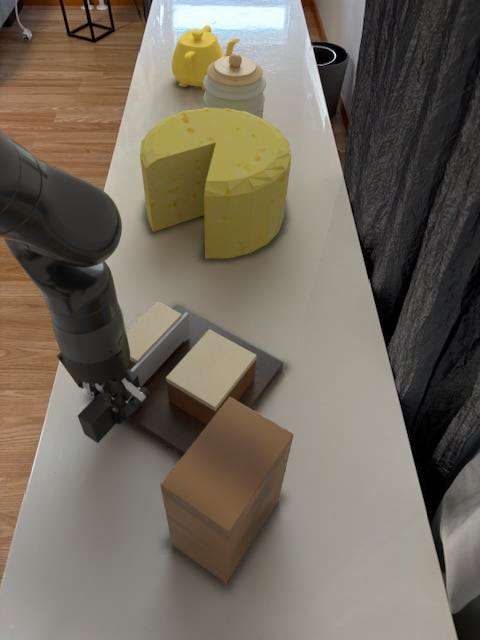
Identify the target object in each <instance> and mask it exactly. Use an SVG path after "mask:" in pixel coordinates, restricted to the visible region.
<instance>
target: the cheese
mask: <svg viewBox="0 0 480 640" xmlns="http://www.w3.org/2000/svg"><path fill="white" fill-rule="evenodd" d="M139 160H140V166H141V167H140V169H141V176H142V184H143V192H144V199H145V207H146V209H145V210H146V214H147V215H146V216H147V220H148V222H149V226H150V228H151V231H152V232H153V233H154V232H158V231H161V230H164V229H166V228H170V227H173V226H176V225H179V224H181V223H182V224H183V223H185V222H187V221H190V220H193V219H197V218H199V217H202V216H203V217H204V256H205V257H204V258H205V259H214V260H215V259H232V258H236V257H242V256H244V255H249V254H252V253H254V252H256V251H257V250H260V249H261V248H263V247H264V246H267V245H268V244H269V243H270V242H271V241H272V240H273V239H274V238H275V237H276V235H278V233H279V232H280V230H281V227H282V224H283V221H284V219H285V211H286V203H287V196H288V195H287V194H288V188H289V179H290V172H291V164H292V152H291V145H290V142H289V140H288V139H287V138H286V137H285V135H284V134H283V131H282V130H281V129H279V128H278V127H276V126H275V125H273V124H272V123H271V122H269V120H267V119H265V117H263V118H260V117H257V116H255V115H253V114H250V113H248V112H246V111H238V110H233V109H229V108H225V109H218V108H204V107H201V108H198V109H190V110H183V111H181V112H179V113H176V114H173V115H170V116H167V117H166V118H164V119H163V120H161V121H160V122H159V123H156V125H154V126H152V127H151V128H150V129H149V131H148V132H147V133H146V134H145V136H144V137H143V139H142V140H141V144H140V152H139Z"/></svg>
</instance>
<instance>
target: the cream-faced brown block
mask: <svg viewBox="0 0 480 640" xmlns="http://www.w3.org/2000/svg"><path fill="white" fill-rule="evenodd" d="M256 356H257V355H256V354H254V353H252V352H250V351H248V350H247V349H245V348H243V347H241V346H239V345H237V344H236V343H234V342H232V341H230V340H228V339H226V338H225V337H223V336H221V335H219V334H217V333H215V332H214V331H212V330H210V329H209V330H208V331H207V332H206V333H205V334H204V336H203V337H202V338H201V339H200V340H199V341H198V342H197V343H196V345H195V346H194V347H193V348H192V349H191V350H190V351H189V352H188V353H187V355H186V356H185V357H184V358H183V359H182V360H181V361H180V362H179V364H178V365H177V366H176V367H175V368H174V369H173V370H172V371H171V372H170V374H169V375H168V376H167V377H166V383H167V391H168V399H169V402H171V403H173V404H174V405H176V406H178V407H179V408H181V409H182V410H184V411H186V412H187V413H189V414H191V415H192V416H194V417H195V418H197V419H199V420H200V421H202V422H204V423H205V424H207V425H208V423H209V422H210V421H211V420H212V418H213V417H214V416H215V415H216V413H217V412H218V411H219V409H220V408H221V407H222V406H223V404H224V403H225V402H226V400H227V399H228V398H229V397H231V398H233V399H235V400H237V401H238V400H239V398H240V397H241V396H242V394H243V393H244V392H245V390H246V389H247V388H248V387H249V385H250V384H251V383H252V381H253V380H254V378H255V367H256Z"/></svg>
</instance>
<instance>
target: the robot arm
mask: <svg viewBox="0 0 480 640" xmlns="http://www.w3.org/2000/svg"><path fill="white" fill-rule="evenodd" d="M122 233H123V223H122V217H121V213H120V210H119V209H118V206H117V204H116V202H115V201H114V200H113V199H112V197H111V196H110V195H109V194H108V193H107V192H106V191H104V190H103V189H101V188H100V187H98V186H97V185H95V184H92V183H91V182H89V181H86V180H85V179H83V178H80V177H78V176H76V175H74V174H72V173H69V172H68V171H65V170H63V169H61V168H59V167H56V166H55V165H51V164H50V163H48V162H46V161H44V160H42V159H40V158H39V157H38V156H36V155H34V153H32V152H31V151H30V150H29V149H27V148H26V147H25V146H24V145H22V144H21V143H20V142H18V141H16V140H15V139H13V138H12V137H10V136H9V135H8V134H6V133H5V132H4V131H2V130H0V239H3V241H4V243H5V245H6V247H7V248H8V250H9V251H10V253H11V254H12V256H13V257H14V259H15V261H17V263H18V264H19V265H20V267H21V268H22V269H23V271H24V272H25V273H26V275H27V276H28V278H29V279H30V280H31V281H32V283H33V284H34V285H35V286H36V287H37V288H38V289H39V290H40V292H41V293H42V294H43V297H44V298H43V299H44V301H45V304H46V307H47V310H48V312H49V315H50V318H51V323H52V330H53V334H54V337H55V340H56V342H57V345H58V349H59V351H60V353H58V354H57V356H56V358H57V359H58V361H59V362H60V363H61V365H62V366H63V368H64V369H65V370H66V371H67V373H68V374H69V376H70V377H71V378H72V380H73V381H74V383H75V385H77V387H78V388H79V389H81V390H83V389H85V390H86V392H87V394H88V396H89V397H90V398H92V400H93V399H94V398H95V397H96V396H97V395H98V394H99V393H101V395H102V398H103V400H104V401H105V402H106V403H108V404H109V405H110V408H111V412H112V416H113V419H114V422H115V423H116V424H117V425H120V424H123V423H124V422H126V420H127V418H128V417H129V416H130V415H131V414H132V413H133V412H134V411H135V410H136V409H137V408H138V407H139V406H140V405H141V404H142V403H143V402H144V401H145V400H146V398H147V397H148V396H149V395H150V391H149V390H148V389H146V388H144V387H143V388H142V389H140V388H136V387H135V386H134V385H133V384H132V377H131V375H130V374H129V372H128V370H127V368H128V363H129V359H130V348H129V343H128V338H127V333H126V331H127V329H126V323H125V319H124V314H123V311H122V308H121V306H120V303H119V300H118V295H117V290H116V285H115V281H114V277H113V273H112V270H111V268H110V266H109V265H108V263H107V262H106V261H107V260H108V259H109V258H110V257H111V256H112V255H113V254H114V252H116V250H117V248H118V246H119V244H120V242H121V238H122Z"/></svg>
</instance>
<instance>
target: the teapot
mask: <svg viewBox="0 0 480 640" xmlns="http://www.w3.org/2000/svg"><path fill="white" fill-rule="evenodd" d="M240 41H241V39H240V38H236V39H235V38H234V39H231V40H229V42H228V43H227V45H226V50H225V54H224V53H223V49H222V46H221V44H220V42H219V40H218V38H217V36H216V35H215V34H214V33H212V28H211V26H210V25H207V24H206V25H204V26H203V27H202V29H198V28H196V29H192V30H188V31H185V32H184V33H182V35H181V36H180V38H179V39H178V40H177V43H176V46H175V47H174V51H173V54H172V59H171V72H172V75H173V76H174V78H175V79H176V80H177V81H178V82H179V84H178V85H179V86H180V87H182V88H185V87H189V86H192V87H193V86H194V87H201V89H202V90H203V91H206V89H205V88H204V85H203V80H204V78H205V76H206V75H207V69H208V67H209V65H210V64H211V63H213V62H215V61H217V60H218V59H220V58H222V57H225V56H230V55H231V54H233V53H234V52H233V51H234V48H235V45H236V44H237V43H239V42H240Z"/></svg>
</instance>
